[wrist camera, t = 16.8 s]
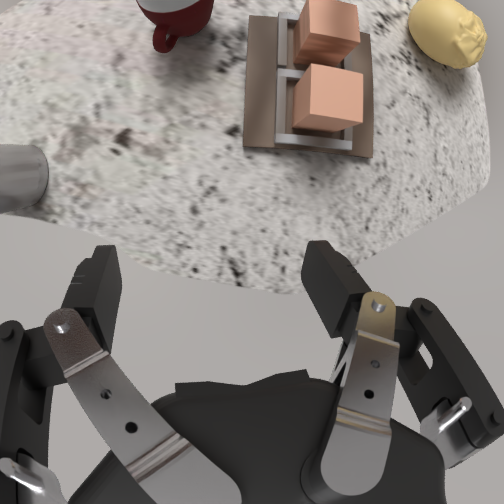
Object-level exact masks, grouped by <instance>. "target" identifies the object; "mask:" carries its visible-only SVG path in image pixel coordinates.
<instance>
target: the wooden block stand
mask: <svg viewBox="0 0 504 504" xmlns="http://www.w3.org/2000/svg"><path fill="white" fill-rule="evenodd" d="M311 63H312V64H318V65H324V66H329V67H334V68H339V69H344V70H348V71H353V72H357V73H361V74H363V123H360V124H357V125H354V126H351V127H348V128H346V129H343V130H340V131H337V132H334V133H328V132H321V131H314V130H306V129H297V128H291V126H292V107H293V88H294V87H295V86H296V84H297V83H298V81H299V80H300V79H301V77H302V76H303V74H304V73H305V72H306V70H307V69H308V67H309V66H310V65H311ZM373 122H374V107H373V73H372V56H371V43H370V34H367V33H363V32H360V31H359V21H358V12H357V5H353V4H349V3H345V2H341V1H336V0H306V3H305V5H304V7H303V9H302V12H301V14H293V13H284V12H279V13H278V17H268V16H252V15H249V29H248V47H247V66H246V87H245V108H244V131H243V147H261V148H279V149H293V150H305V151H315V152H325V153H334V154H342V155H350V156H357V157H364V158H373Z"/></svg>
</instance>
